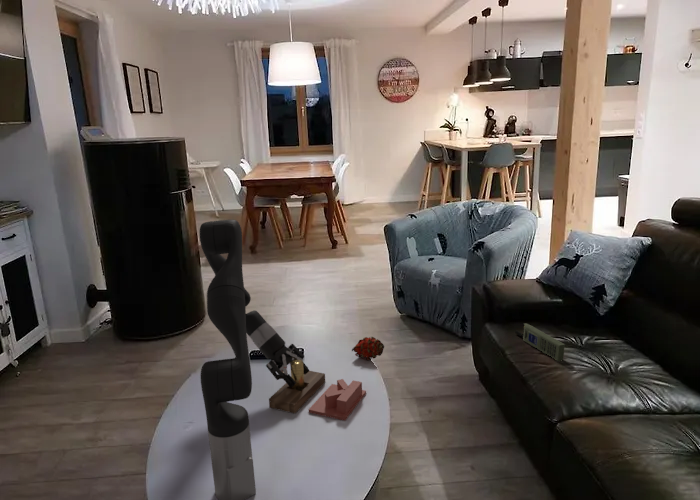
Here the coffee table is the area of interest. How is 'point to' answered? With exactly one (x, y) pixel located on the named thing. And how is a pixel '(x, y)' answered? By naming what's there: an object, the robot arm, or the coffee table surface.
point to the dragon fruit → (369, 348)
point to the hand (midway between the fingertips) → (300, 378)
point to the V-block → (339, 400)
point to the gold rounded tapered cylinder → (297, 374)
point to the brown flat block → (296, 393)
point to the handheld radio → (542, 342)
